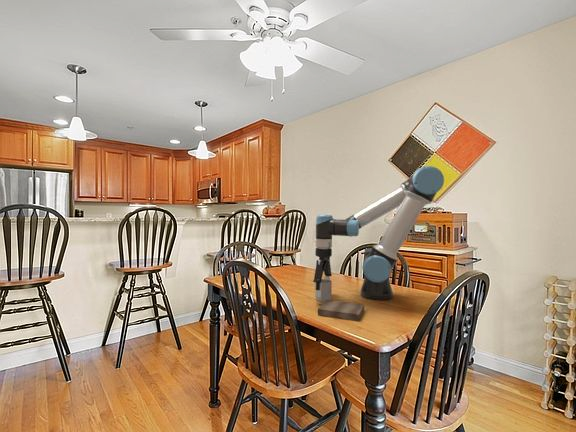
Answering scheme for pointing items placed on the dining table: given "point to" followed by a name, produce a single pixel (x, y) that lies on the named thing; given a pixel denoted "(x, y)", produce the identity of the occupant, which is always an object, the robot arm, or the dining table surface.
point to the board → (341, 310)
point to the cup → (325, 291)
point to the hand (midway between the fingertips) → (322, 293)
